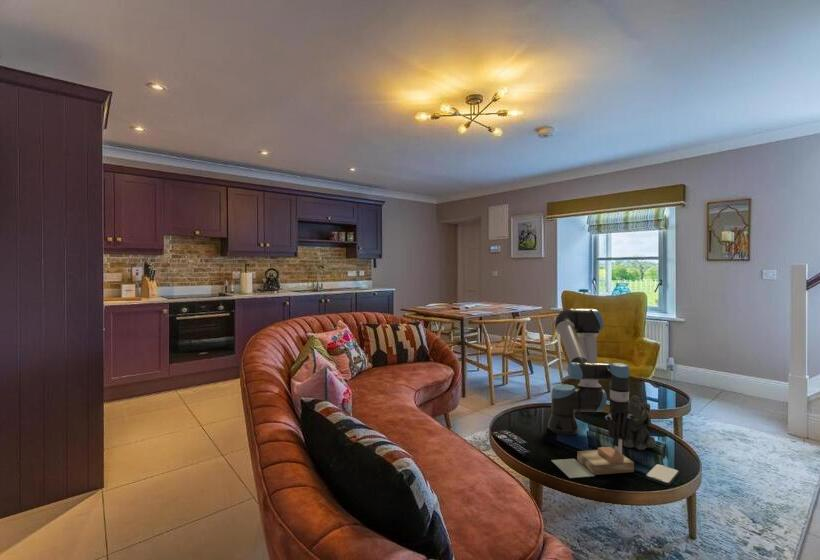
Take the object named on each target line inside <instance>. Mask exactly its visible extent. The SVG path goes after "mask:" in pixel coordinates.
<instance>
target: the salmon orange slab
mask: <svg viewBox="0 0 820 560" xmlns="http://www.w3.org/2000/svg"><path fill="white" fill-rule="evenodd" d="M614 449H615V448H612V447H611V446H602V447H601V446H600V447H597V450H598V453H600V454H601V455H602V456H604V457H605V458H607V459H608V460H609V461H611V462H614V461H624V456H625V455H624V454H622V455H621V454H620V453H619V452H617V451H616V450H614ZM623 455H624V456H623Z"/></svg>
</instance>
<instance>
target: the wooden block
mask: <svg viewBox="0 0 820 560" xmlns="http://www.w3.org/2000/svg"><path fill="white" fill-rule="evenodd" d="M613 449H614V450H615V448H613ZM576 452H577V454H576V455H577V456H576V460H577V461H578V462H579V463H580V464H581V465H583V466H584V467H585V468H586V469H587V470H588V471H590V472H591V473H592V474H593V475H594V476H596V475H598V476H599V475H611V474H623V473H633V472H635V462H634V461H633V460H631V459H630V458H628V457H627V456H625V455H624V454H623V453H622V454H621V455H623V456H624V461H614V462H611V461H609V460H608V459H607V458H605V457H604V456H602V455H601V454H600V453H598V449H593V450H592V449H591V450H590V449H589V450H577V451H576Z"/></svg>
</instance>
